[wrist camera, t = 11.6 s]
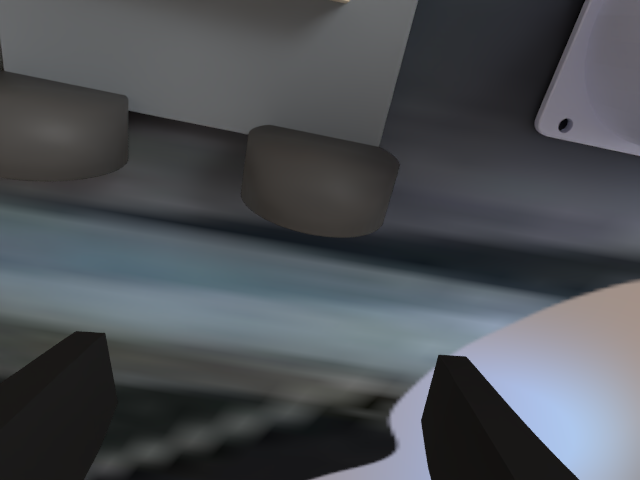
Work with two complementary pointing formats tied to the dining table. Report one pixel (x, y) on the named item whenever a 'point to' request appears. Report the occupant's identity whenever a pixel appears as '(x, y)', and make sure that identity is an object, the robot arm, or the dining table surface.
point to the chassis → (213, 94)
